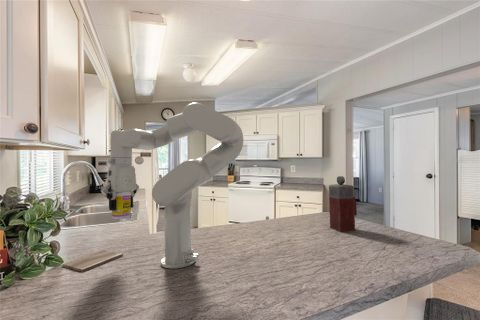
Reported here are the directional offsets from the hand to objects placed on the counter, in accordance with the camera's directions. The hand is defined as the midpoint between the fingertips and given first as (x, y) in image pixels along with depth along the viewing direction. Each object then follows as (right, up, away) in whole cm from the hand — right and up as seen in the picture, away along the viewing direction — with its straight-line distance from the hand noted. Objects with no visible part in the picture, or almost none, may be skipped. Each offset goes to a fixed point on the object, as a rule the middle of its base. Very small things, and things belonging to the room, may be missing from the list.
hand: (121, 208), depth 95 cm
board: (-10, -20, -1) cm, 23 cm away
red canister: (+101, -18, +35) cm, 108 cm away
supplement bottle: (0, -4, 0) cm, 4 cm away
